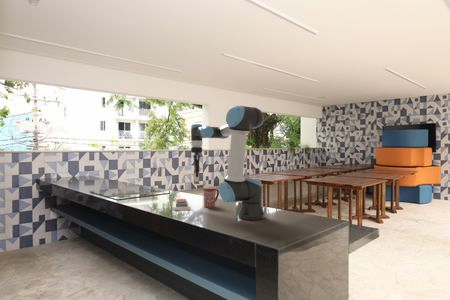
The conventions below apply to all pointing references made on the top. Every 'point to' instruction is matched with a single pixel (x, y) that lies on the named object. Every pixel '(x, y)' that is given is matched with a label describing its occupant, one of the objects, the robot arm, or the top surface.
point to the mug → (210, 196)
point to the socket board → (181, 204)
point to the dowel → (194, 177)
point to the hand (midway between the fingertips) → (196, 181)
